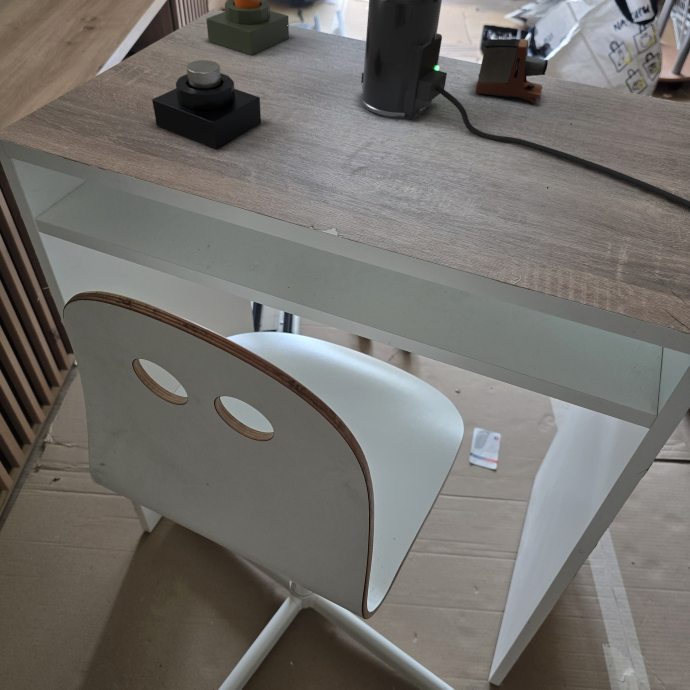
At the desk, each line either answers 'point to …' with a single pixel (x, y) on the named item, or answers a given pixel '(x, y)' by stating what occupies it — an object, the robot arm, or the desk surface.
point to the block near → (207, 112)
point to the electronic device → (509, 70)
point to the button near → (204, 75)
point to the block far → (247, 27)
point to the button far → (247, 3)
